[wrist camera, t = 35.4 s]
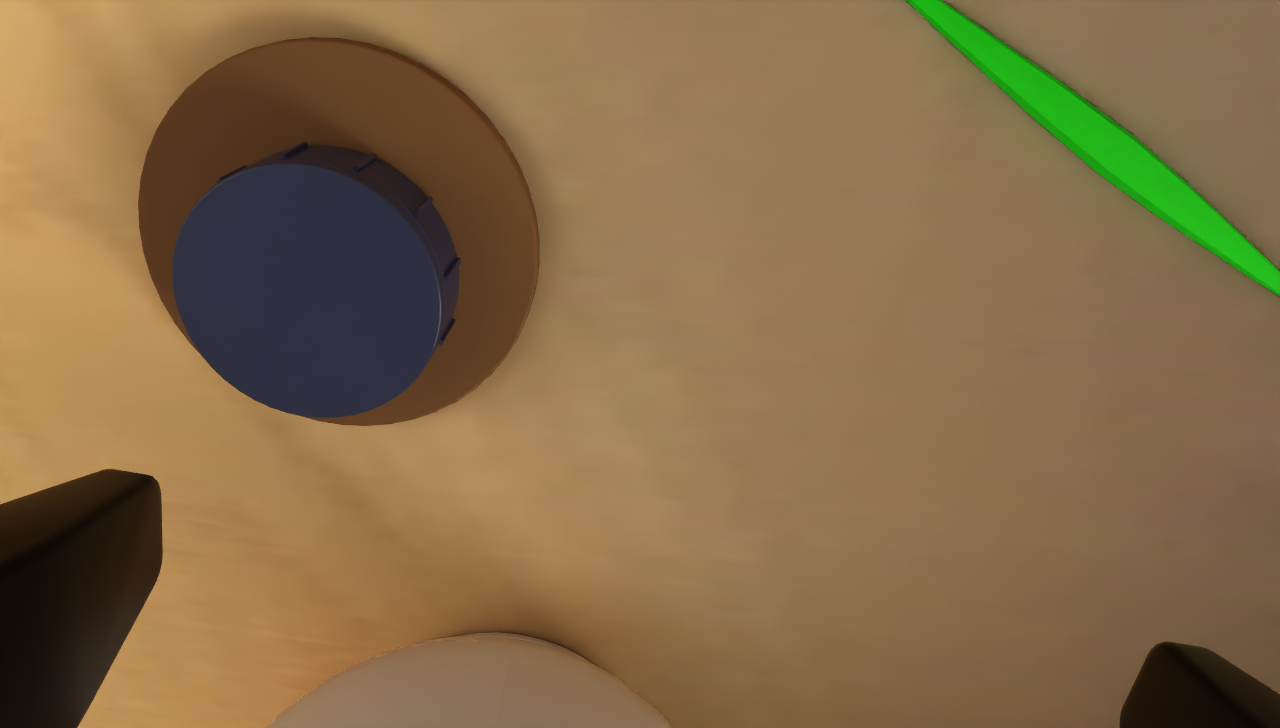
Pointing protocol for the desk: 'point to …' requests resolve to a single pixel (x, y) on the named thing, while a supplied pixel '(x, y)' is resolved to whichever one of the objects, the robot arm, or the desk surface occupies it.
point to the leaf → (1101, 143)
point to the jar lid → (316, 280)
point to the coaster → (369, 123)
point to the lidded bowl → (473, 689)
